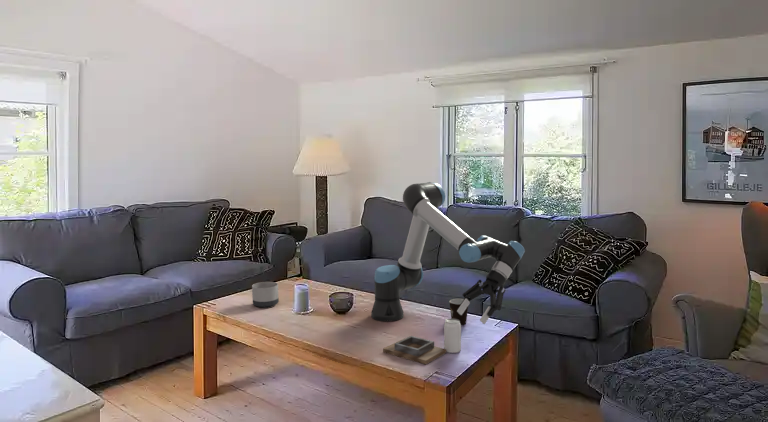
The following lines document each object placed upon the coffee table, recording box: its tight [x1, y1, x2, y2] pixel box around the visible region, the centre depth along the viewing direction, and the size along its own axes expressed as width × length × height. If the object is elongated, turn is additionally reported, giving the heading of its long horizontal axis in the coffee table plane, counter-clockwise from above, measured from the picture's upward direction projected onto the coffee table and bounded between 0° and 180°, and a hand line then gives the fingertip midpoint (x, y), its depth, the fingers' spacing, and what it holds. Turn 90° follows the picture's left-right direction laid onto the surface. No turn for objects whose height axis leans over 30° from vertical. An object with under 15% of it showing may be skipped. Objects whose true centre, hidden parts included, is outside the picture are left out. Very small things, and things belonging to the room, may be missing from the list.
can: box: [443, 318, 462, 354], centre depth 215 cm, size 6×6×12 cm
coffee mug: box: [448, 298, 469, 326], centre depth 249 cm, size 12×9×10 cm
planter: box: [251, 281, 280, 308], centre depth 278 cm, size 13×13×10 cm
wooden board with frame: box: [382, 335, 447, 365], centre depth 213 cm, size 20×14×4 cm
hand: (470, 317), depth 217 cm, fingers open, 13 cm apart
